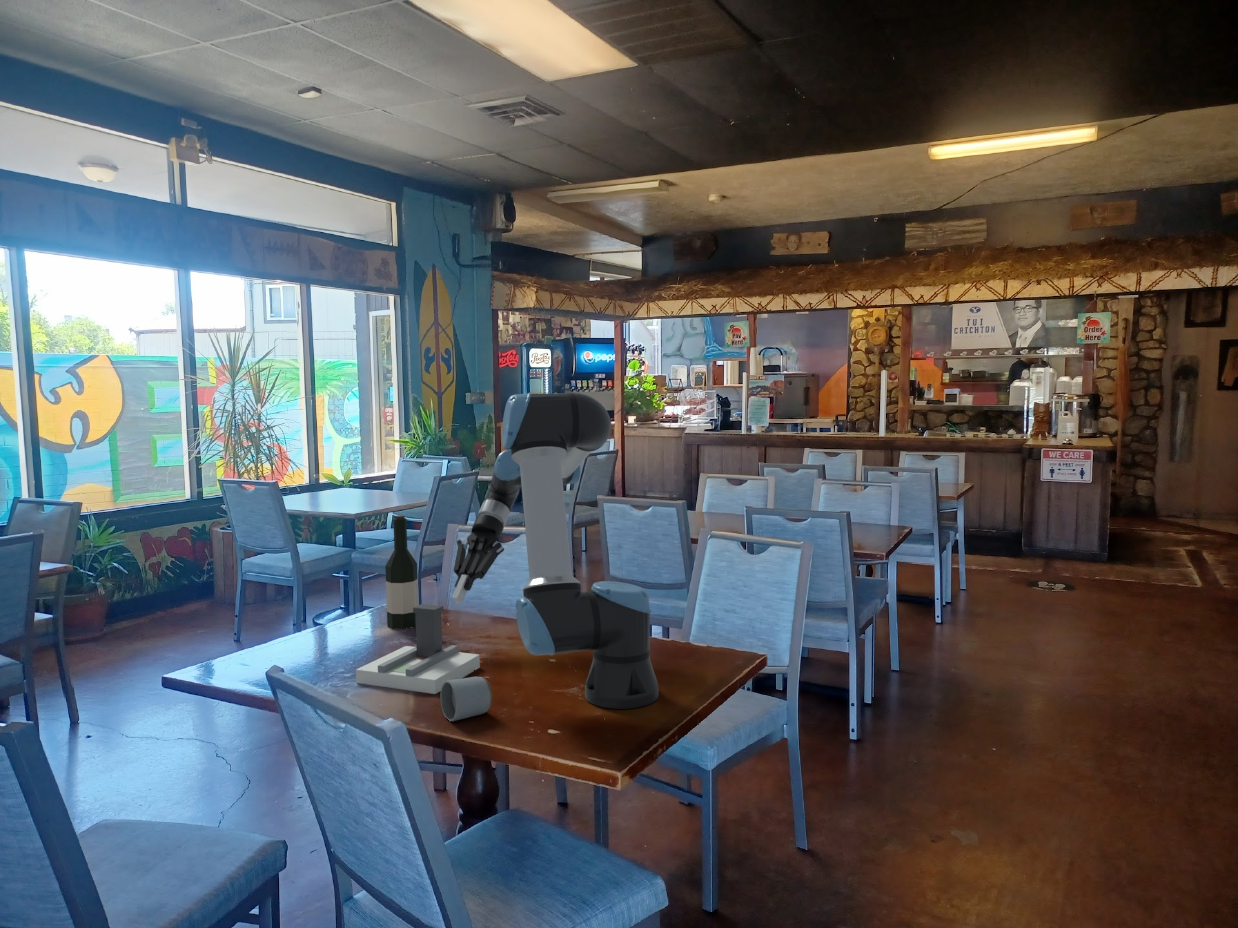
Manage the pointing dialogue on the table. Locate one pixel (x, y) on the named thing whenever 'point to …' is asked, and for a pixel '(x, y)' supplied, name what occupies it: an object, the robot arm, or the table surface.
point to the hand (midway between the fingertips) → (456, 600)
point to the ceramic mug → (465, 697)
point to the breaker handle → (428, 629)
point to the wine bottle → (401, 580)
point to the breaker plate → (418, 669)
